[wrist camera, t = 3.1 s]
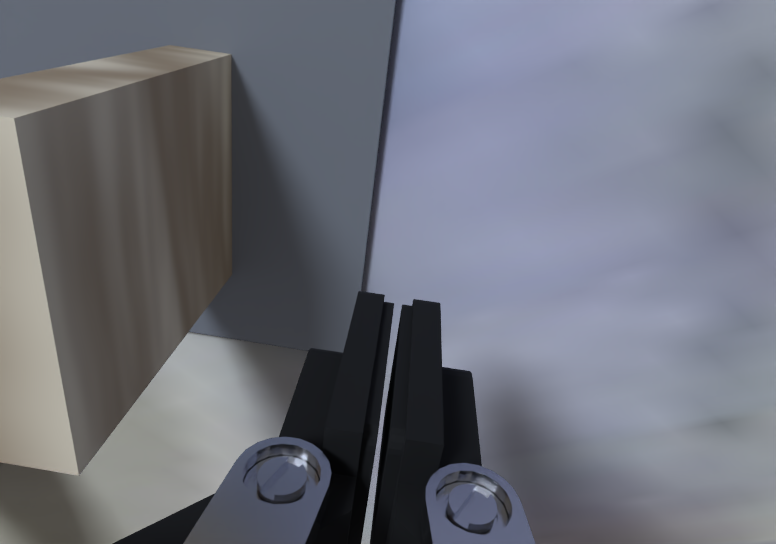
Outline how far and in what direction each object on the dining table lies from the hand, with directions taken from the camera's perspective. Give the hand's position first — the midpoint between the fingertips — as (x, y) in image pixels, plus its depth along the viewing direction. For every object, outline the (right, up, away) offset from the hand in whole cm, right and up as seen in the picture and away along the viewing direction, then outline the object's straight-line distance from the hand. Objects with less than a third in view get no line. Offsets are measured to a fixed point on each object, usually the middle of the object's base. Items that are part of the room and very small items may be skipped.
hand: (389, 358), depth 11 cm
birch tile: (-7, +5, +8) cm, 12 cm away
